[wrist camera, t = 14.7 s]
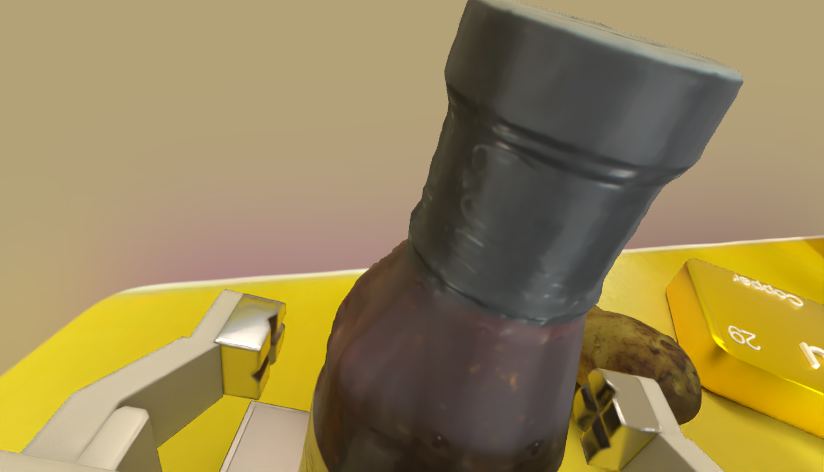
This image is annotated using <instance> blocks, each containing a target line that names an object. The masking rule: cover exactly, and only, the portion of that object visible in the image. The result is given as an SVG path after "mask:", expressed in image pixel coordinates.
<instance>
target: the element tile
mask: <svg viewBox="0 0 824 472" xmlns="http://www.w3.org/2000/svg"><path fill="white" fill-rule="evenodd" d="M666 294H667V298H668V302H669V307H670V311H671V315H672V319H673V323H674V327H675V331H676V335H677V340H678V344H679V345H680V346H681V348H682V349H683V350H684V351H685V352H686V354H687V355H688V356H689V358H690V359H691V361H692V363H693V364H694V366H695V368H696V370H697V373H698V375H699V378H700V383H701V386H703V387H704V388H706V389H708V390H709V391H711V392H713V393H716V394H718V395H720V396H723V397H725V398H727V399H730V400H732V401H735V402H737V403H739V404H742V405H744V406H747V407H749V408H751V409H754V410H756V411H758V412H761V413H763V414H766V415H768V416H770V417H773V418H775V419H778V420H780V421H782V422H785V423H787V424H789V425H792V426H794V427H797V428H799V429H801V430H804V431H806V432H809V433H811V434H813V435H816V436H818V437H820V438H823V439H824V305H822V304H819V303H817V302H814V301H812V300H809V299H806V298H803V297H801V296H798V295H795V294H792V293H790V292H787V291H784V290H781V289H779V288H776V287H773V286H770V285H768V284H765V283H762V282H760V281H757V280H754V279H751V278H749V277H746V276H743V275H740V274H738V273H735V272H732V271H729V270H727V269H724V268H721V267H718V266H716V265H713V264H710V263H707V262H705V261H701V260H698V259H689V260H687V261H686V263H685V264H684V265H683V267H682V268H681V269H680V271H679V272H678V273H677V275H676V276H675V277H674V279H673V280H672V281H671V283H670V284H669V285H668V287H667V289H666Z"/></svg>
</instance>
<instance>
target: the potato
mask: <svg viewBox="0 0 824 472" xmlns="http://www.w3.org/2000/svg"><path fill="white" fill-rule="evenodd" d="M596 368H600V369H605V370H610V371H615V372H620V373H625V374H630V375H635V376H640V377H645V378H650V379H654V380H655V381H656V382H657V383H658V385H659V387H660V389H661V391H662V393H663V395H664V397H665V399H666V401H667V403H668V405H669V407H670V409H671V411H672V413H673V415H674V417H675V419H676V421H677V423H678V425H681V424H684V423H687V422H689V421H690V420H692V419H693V418H694V417H695V416H696V415H697V413H698V412H699V410H700V407H701V397H702V393H701V383H700V378H699V375H698V373H697V370H696V368H695V366H694V364H693V363H692V361H691V359H690V358H689V356H688V355H687V354H686V352H685V351H684V350H683V349H682V348H681V346H680V345H679V344H677V343H676V342H675V341H674V339H673V338H671V337H670V336H667V335H664V334H662V333H660V332H659V331H657V330H656V329H654V328H652V327H650V326H648V325H646V324H644V323H642V322H641V321H639V320H636V319H634V318H632V317H629V316H625V315H622V314H618V313H614V312H609V311H603V310H602V309H600V308H599V307H597V306H596V305H594V306H593V307H592V308H591V309H590V310H589V311H588V312H587V315H586V321H585V328H584V334H583V341H582V347H581V354H580V360H579V366H578V373H577V379H576V382H577V383H578V384H579V385H580V386H583V385H585V384H588V383H589V380H588V375H589V374H590V372H591V371H592V370H594V369H596Z"/></svg>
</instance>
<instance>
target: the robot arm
mask: <svg viewBox="0 0 824 472" xmlns="http://www.w3.org/2000/svg"><path fill="white" fill-rule="evenodd" d="M285 314H286V304H285V303H283V302H279V301H275V300H271V299H266V298H262V297H258V296H254V295H250V294H244V293H239V292H235V291H231V290H227V289H225V290H224V291H223V292H221V293H220V294H219V296H218V297H217V298H216V300H215V301H214V303H213V304H212V306H211V307H210V309H209V310H208V311H207V313H206V314H205V316H204V317H203V319H202V320H201V322H200V323H199V324H198V326H197V327H196V329H195V330H194V332H193V333H192V335H191V336H190V338H188V337H181V338H179V339H177V340H176V341H174V342H172V343H170V344H168V345H166V346H164V347H162V348H160V349H158V350H156V351H154V352H152V353H150V354H148V355H146V356H144V357H142V358H141V359H139V360H137V361H135V362H133V363H131V364H129V365H127V366H125V367H123V368H121V369H119V370H117V371H115V372H113V373H111V374H109V375H107V376H105V377H104V378H102V379H100V380H98V381H96V382H94V383H92V384H90V385H88V386H86V387H84V388H82V389H80V390H78V391H76V392H74V393H72V395H71V396H70V397H69V398H68V399H67V400H66V401H65V403H64V404H63V405H62V406H61V407H60V408H59V409H58V411H57V412H56V413H55V414H54V415H53V416H52V417H51V419H50V420H49V421H48V422H47V423H46V424H45V425H44V427H43V428H42V429H41V430H40V431H39V432H38V433H37V435H36V436H35V437H34V438H33V439H32V440H31V441H30V443H29V444H28V445H27V446H26V447H25V448H24V449H23V451H22V452H21V453H16V452H10V451H5V450H0V472H162V469H161V464H160V460H159V456H158V452H157V448H158V447H159V446H161V445H162V444H163V443H164V442H166V441H167V440H168V439H169V438H171V437H172V436H173V435H175V434H176V433H177V432H178V431H180V430H181V429H182V428H183V427H185V426H186V425H187V424H189V423H190V422H191V421H192V420H194V419H195V418H196V417H197V416H199V415H200V414H201V413H203V412H204V411H205V410H206V409H208V408H209V407H210V406H211V405H213V404H214V403H215V402H217V401H218V400H219V399H220V398H222V397H223V394H225V395H231V396H237V397H243V398H249V399H255V400H259V399H260V396H261V394H262V392H263V389H264V387H265V385H266V383H267V380H268V378H269V366H270V365H272V364H273V363H275V362H276V359H277V357H278V355H279V352H280V349H281V346H282V342H283V338H284V331H285V325H284V324H283V323H282V321H283V318H284V316H285ZM588 380H589V383H588V384H585V385H583V386H581V387H580V388H579V389H578V391H577V392H576V394H575V397H574V402H573V414H574V418H575V422H576V423H577V425H578V426H579V427H580V428H581V429H582V430H583V434H582V436H581V438H580V440H581V444H582V447H583V451H584V454H585V458H586V462H587V465H592V466H596V467H600V468H605V469H609V470H614V471H618V472H725V471H723V470H722V469H721V468H720V467H719V466H718V465H717V464H716V463H715V462H714V461H713V460H712V459H711V458H710V457H709V456H708V455H707V454H706V453H705V452H704V451H702V450H701V449H700V448H699V447H698V446H697V445H696V444H695V443H694V442H693V441H692V440H691V439H687V438H685V437H684V435H683V433H682V431H681V429H680V427H679V425H678V423H677V421H676V419H675V417H674V415H673V413H672V411H671V409H670V407H669V405H668V403H667V401H666V399H665V397H664V395H663V393H662V391H661V389H660V387H659V385H658V383H657V382H656V381H655V380H654V379H650V378H645V377H640V376H635V375H630V374H625V373H620V372H615V371H610V370H605V369H600V368H596V369H594V370H592V371H591V372H590V374H589V375H588Z"/></svg>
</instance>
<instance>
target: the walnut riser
mask: <svg viewBox="0 0 824 472" xmlns="http://www.w3.org/2000/svg"><path fill="white" fill-rule="evenodd" d="M309 415H310V412H307V411H302V410H297V409H292V408H287V407H282V406H277V405H272V404H267V403H261V402H256V401H251V402H250V404H249V406H248V408H247V410H246V413H245V415H244V417H243V419H242V422H241V424H240V426H239V428H238V430H237V433H236V435H235V437H234V439H233V442H232V444H231V446H230V448H229V450H228V453H227V455H226V457H225V459H224V461H223V464H222V466H221V468H220V470H219V472H299V467H300V463H301V458H302V452H303V447H304V442H305V436H306V431H307V426H308V420H309Z"/></svg>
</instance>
